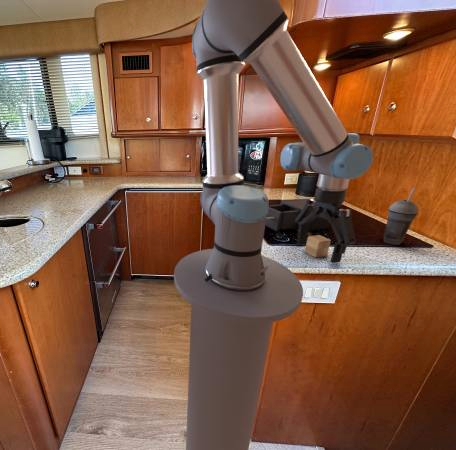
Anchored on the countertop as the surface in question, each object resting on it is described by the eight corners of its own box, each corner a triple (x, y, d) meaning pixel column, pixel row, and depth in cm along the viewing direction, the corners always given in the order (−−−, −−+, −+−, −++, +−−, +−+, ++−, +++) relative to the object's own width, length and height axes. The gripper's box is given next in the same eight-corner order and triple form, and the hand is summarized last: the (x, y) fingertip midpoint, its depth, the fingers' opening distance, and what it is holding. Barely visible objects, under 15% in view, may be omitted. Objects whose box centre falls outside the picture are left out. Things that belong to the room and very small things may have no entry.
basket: (263, 232, 94) (266, 214, 91) (247, 223, 104) (250, 206, 102) (305, 228, 97) (309, 210, 95) (286, 219, 108) (289, 202, 105)
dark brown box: (298, 231, 96) (302, 209, 93) (277, 221, 108) (280, 201, 105) (328, 228, 99) (334, 206, 96) (305, 218, 111) (309, 198, 107)
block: (315, 257, 76) (319, 241, 74) (304, 251, 80) (308, 236, 78) (326, 256, 77) (330, 240, 75) (315, 250, 81) (319, 235, 79)
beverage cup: (396, 238, 88) (416, 185, 81) (411, 247, 81) (434, 189, 74) (373, 237, 89) (390, 184, 82) (386, 245, 83) (406, 189, 76)
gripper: (387, 197, 60) (364, 269, 67) (308, 180, 83) (298, 236, 90) (362, 199, 59) (342, 273, 66) (290, 182, 82) (280, 238, 89)
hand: (316, 252), depth 78 cm, fingers open, 13 cm apart
